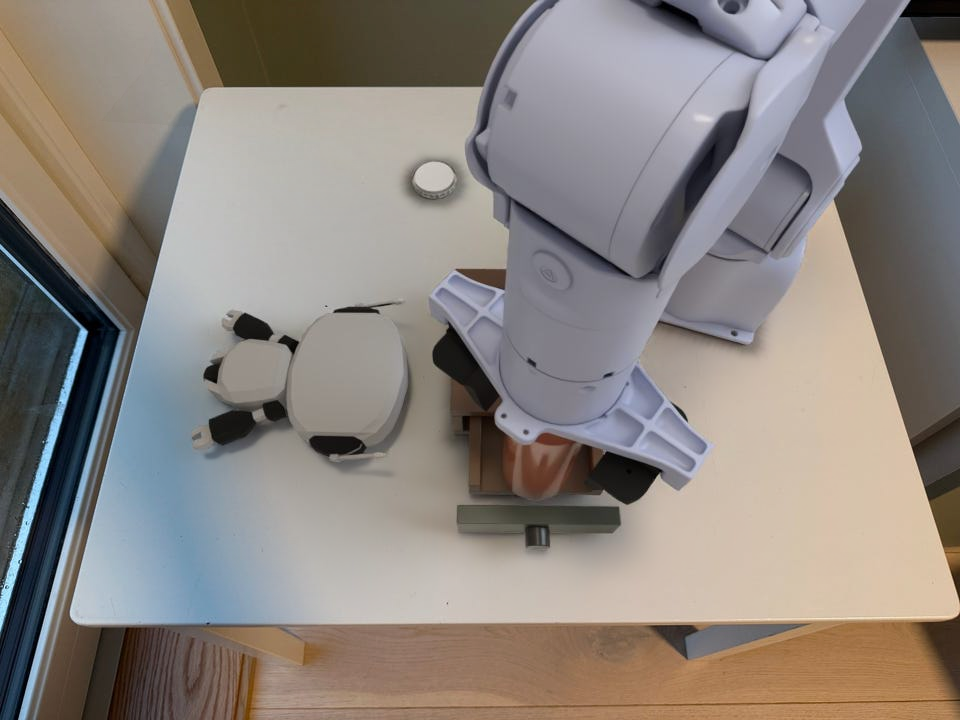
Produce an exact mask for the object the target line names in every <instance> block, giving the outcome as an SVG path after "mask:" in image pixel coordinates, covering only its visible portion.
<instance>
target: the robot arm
mask: <svg viewBox="0 0 960 720" xmlns="http://www.w3.org/2000/svg"><path fill="white" fill-rule="evenodd" d="M910 2H911V0H535V1H534V2H533V3H532V4H531V5H530V6H529V7H528V8H527V9H526V10H525V11H524V13H523V14H521V16H520V17H519V19H518V20H517V21H516V22H515V23H514V25H513V26H512V27H511V29H510V30H509V32H508V33H507V35H506V37H505V38H504V40H503V42H502V44H501V45H500V47H499V49H498V50H497V53H496V55H495V56H494V58H493V61H492V63H491V66H490V67H489V70H488V73H487V74H486V78H485V81H484V83H483V87H482V90H481V93H480V97H479V101H478V106H477V109H476V110H477V111H476V119H475V123H474V127H473V129H472V131H470V133H469V135H468V136H467V138H466V139H465V142H464V154H465V160H466V164H467V167H468V170H469V172H470V174H471V176H472V177H473V179H474V180H475V181H476V182H477V183H479V184H481V185H482V186H483V187H485V188H487V190H490V191H491V192H492V196H493V204H492V205H493V207H492V217H493V219H494V220H496V221H497V222H499V223H500V224H502V225H503V227H504V228H505V229H507V230H508V240H507V254H506V255H507V256H506V267H505V269H506V281H505V289H504V288H499V287H491V286H488V285H485V284H482V283H479V282H476V281H474V280H471V279H469V278H467V277H466V276H464V275H462V274H461V273H459V272H457V271H456V270H455V269H453V270H451V271H450V272H449V273H448V275H446V276H445V277H444V279H443V280H442V281H440V283H438V285H436V286H435V288H434V289H433V290H432V291H431V292H429V294H428V296H427V297H428V305H429V313H430V317H431V318H433V319H434V320H436V321H437V322H439V323H440V324H441V325H444V326H447V325H448V328H446V330H445V334H444V335H443V336H442V337H441V338H440V339H439V340H438V341H437V342H436V343H435V345H434V346H433V348H432V353H431V357H432V363H433V365H434V366H435V367H436V368H437V369H439V370H440V371H441V372H443V373H444V374H445V375H447V376H448V377H450V379H451V378H452V379H454V380H455V381H456V382H458V383H459V384H461V385H463V386H464V387H465V389H466V390H467V392H468V393H469V395H470V396H471V398H472V399H473V401H474V402H475V403H476V405H478V406H479V407H480V408H482V409H483V410H484V411H486V412H487V411H488V409H489V408H490V407H491V406H492V405H493V404H494V402H495V401H496V400H497V399H498V398H499V397H500V396H501V398H502V400H503V401H502V403H501V405H500V406H499V407H498V408H497V410H496V412H495V424H496V425H497V427H498V428H499V429H501V430H502V431H503V432H505V433H506V434H507V435H509V436H510V437H511V438H513V439H514V440H515V441H517V442H518V443H520V444H522V445H530V444H531V443H533V442H534V441H535V440H536V439H537V437H538V436H539V435H540V434H542V433H551V434H554V435H557V436H560V437H564V438H567V439H570V440H573V441H576V442H580V443H583V444H586V445H589V446H592V447H596V448H599V449H602V450H603V451H605V452H604V455H603V456H602V458H601V459H600V460H599V462H598V463H597V465H596V466H595V467H594V469H593V470H592V471H591V473H590V474H589V475H588V477H587V479H586V480H585V482H584V483H583V484H584V485H585V486H587V487H588V488H590V489H591V490H592V491H593V490H603V492H605V493H606V494H608V495H610V496H611V497H612V498H614V499H615V500H617V501H618V502H620V503H623V504H624V505H626V506H628V505H631V504H633V503H635V502H637V501H639V500H641V499H642V498H643V497H644V496H645V495H646V493H647V492H648V491H649V489H650V488H651V486H652V485H653V483H654V482H655V480H656V479H657V477H658V476H660V477H659V478H660V479H661V480H662V482H664V483H665V484H667V485H668V486H670V487H672V488H673V489H674V490H675V491H677V492H680V491H681V490H683V488H685V486H687V485H688V484H689V483H690V482H691V481H692V480H693V479H694V478H695V476H696V475H697V473H698V472H699V470H700V468H701V467H702V466H703V464H704V463H705V461H706V459H707V458H708V457H709V455H710V454H711V452H712V450H713V449H714V447H715V443H713V442H712V441H710V440H709V439H707V438H706V437H704V435H702V434H701V433H700V432H698V430H696V429H695V428H694V427H692V425H691V424H690V423H689V419H688V417H687V414H686V413H685V411H684V410H683V409H682V408H681V407H679V406H678V405H677V404H675V403H674V402H672V401H671V400H670V399H668V397H667V396H666V395H665V394H664V392H663V391H662V390H661V389H660V387H659V386H658V385H657V384H656V382H655V381H654V380H653V379H652V377H650V376H651V375H650V374H648V373H647V372H646V370H645V369H644V367H643V366H642V365H641V364H640V363H639V362H638V361H639V359H640V357H641V355H642V353H643V352H644V349H645V347H646V345H647V344H648V342H649V340H650V338H651V336H652V334H653V332H654V330H655V328H656V327H657V324H658V322H659V321H660V322H663V323H666V324H671V325H674V326H677V327H681V328H684V329H688V330H691V331H695V332H700V333H702V334H706V335H710V336H714V337H717V338H721V339H724V340H728V341H731V342H735V343H738V344H743V345H747V346H748V345H750V344H752V342H753V341H754V336H755V333H756V331H757V330H758V329H759V328H760V326H761V325H762V324H763V322H765V320H766V319H767V317H768V316H769V315H770V314H771V313H772V312H773V310H774V309H775V308H776V307H777V306H778V305H779V303H780V302H781V300H783V298H784V297H785V295H786V294H788V291H789V289H790V288H791V287H792V284H793V283H794V280H795V279H796V277H797V275H798V272H799V270H800V267H801V265H802V262H803V258H804V255H805V251H806V246H807V241H808V233H809V232H810V230H812V228H813V227H814V225H815V224H816V223H817V222H818V220H819V219H820V218H821V217H822V215H823V214H824V212H826V210H827V208H828V207H829V206H830V204H831V203H832V202H833V200H834V199H835V197H836V196H837V195H838V194H839V192H840V191H841V190H842V189H843V187H844V186H845V181H846V179H847V178H848V177H849V175H851V173H852V172H853V170H854V169H855V167H856V166H857V165H858V163H859V162H860V161H861V158H860V153H861V152H862V150H863V145H862V141H861V139H860V137H859V135H858V132H857V130H856V127H855V125H854V123H853V121H852V119H851V116H850V114H849V111H848V108H847V105H846V102H845V98H846V97H847V95H848V94H849V92H850V91H851V89H853V86H854V85H855V83H856V82H857V80H858V79H859V78H860V76H861V74H862V73H863V71H864V70H865V68H866V67H867V65H868V64H869V62H870V61H871V59H872V58H873V57H874V55H875V54H876V52H877V50H878V49H879V48H880V46H881V45H882V43H883V42H884V40H885V39H886V37H887V36H888V34H889V33H890V32H891V30H892V28H893V27H894V25H895V24H896V23H897V21H898V19H899V18H900V16H901V15H902V14H903V12H904V10H905V9H906V8H907V6H908V5H909V3H910ZM733 334H734V335H733Z"/></svg>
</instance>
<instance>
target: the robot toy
mask: <svg viewBox="0 0 960 720" xmlns="http://www.w3.org/2000/svg"><path fill="white" fill-rule="evenodd" d="M406 301H407V300H406V299H404V298H394V299H393V300H386V301H380V302H374V303H366V304H363V303H362V302H360V303H355V304H354V305H353V306H349V305H348V306H346V307H340V308H337V309H334V310H333V311H332V312H327V313H325V314H324V315H322V316H320V317H317V318H316V319H315V320H314V321H313V322H312V323H311V324H310V325H309V326H308V327H307V329H306V330H305V331H304V333H303V334H302V336H301V338H300V341H299V340H298V339H296V338H293V337H291V336H289V335H287V334H283V335H282V336H281V337H280V336H278V335H276V334H275V332H274V330H273V329H272V328H271V326H270V325H269V323H268V322H266V321H264V320H262V319H261V318H258V317H256V316H254V315H252V314H250V313H247V312H243V311H241V310H237V309H236V310H235V309H230V310H228V311H227V312H226V314H225V315H226V316H227V317H228V318H230V320H229V319H228V318H225V317H223V318H222V319H221V322H220V323H221V327H222V328H223V329H224V330H225V331H227V332H233V333H234V335H235V336H237V337H238V338H240V339H242V340H241V341H238V342H236V343H235V344H234V345H233V346H230V347H227V348H223V349H221V350H217V351H216V352H215V353H214V354H213V355H212V357H211V358H210V359H209V362H210V363H211V364H210V365H208V366H206V368H205V369H204V372H203V375H202V378H203V381H204V383H205V387H206V389H207V390H208V391H209V392H210V393H211V394H212V395H214V396H215V398H217V399H218V400H219V401H220V402H222V403H224V404H227V405H229V406H231V407H232V408H233V409H235V410H233V409H232V410H229V411H227V412H224V413H221V414H219V415H216V416H214V417H211V418H209V419H208V425H198V426H197V427H196V428H194V429H193V430H191V432H190V435H189V437H190V440H191V447H192V448H193V449H194V450H196V451H204V450H209V449H210V448H211V447H212V446H213V445H215V443H216V444H217V445H218V446H222V447H224V446H226V445H228V444H231V443H233V442H236V441H238V440H242V439H244V438H246V437H247V436H248V435H249V433H250V432H251V431H252V430H253V429H254V428H255V427H256V425H257V424H258V423H259V422H262V421H265V420H268V421H270V422H271V423H274V422H277V421H280V420H282V419H285V418H287V415H288V420H289V422H290V423H291V425H292V427H293V429H294V431H295V432H296V434H298V435H299V437H301V439H303V441H305V442H307V443H308V444H309V446H310V447H311V449H312V450H314V452H316V453H317V454H320V455H322V456H324V457H326V458H328V459H329V460H328V461H330V462H333V463H341V462H343V461H344V460H359V459H360V460H362V459H384V458H385V457H387V456H388V454H386V453H384V452H381V451H379V452H374V453H365V452H366V449H367V448H369V447H372V446H375V445H378V444H381V443H382V442H383V441H384V440H385V439H386V438H387V436H389V434H391V432H392V430H393V429H394V427H395V425H396V424H397V421H398V419H399V416H400V414H401V411H402V408H403V405H404V401H405V397H406V395H407V390H408V388H409V373H408V358H407V353H406V349H405V345H404V342H403V340H402V337H401V334H400V332H399V330H398V328H397V326H396V325H395V323H394V322H393V320H392V319H391V318H389V317H387V316H384V315H382V314H381V313H380V311H379V309H376V308H381V307H386V306H394V305H396V306H400V305H403V304H405V302H406ZM286 411H287V412H286Z"/></svg>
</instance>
